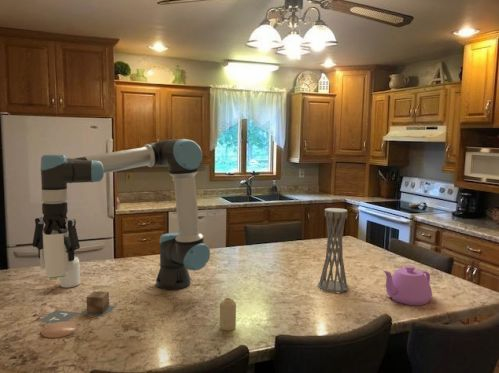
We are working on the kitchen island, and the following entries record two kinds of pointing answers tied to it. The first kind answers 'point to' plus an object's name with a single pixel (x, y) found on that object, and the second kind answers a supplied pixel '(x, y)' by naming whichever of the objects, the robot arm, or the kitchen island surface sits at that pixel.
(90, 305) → the walnut block
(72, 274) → the beverage can
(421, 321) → the kitchen island surface
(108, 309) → the code tile
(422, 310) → the kitchen island surface
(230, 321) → the candle
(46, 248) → the cup
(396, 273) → the teapot
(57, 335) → the salmon round part
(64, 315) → the code tile
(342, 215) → the grey lattice tower
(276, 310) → the kitchen island surface
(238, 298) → the kitchen island surface
